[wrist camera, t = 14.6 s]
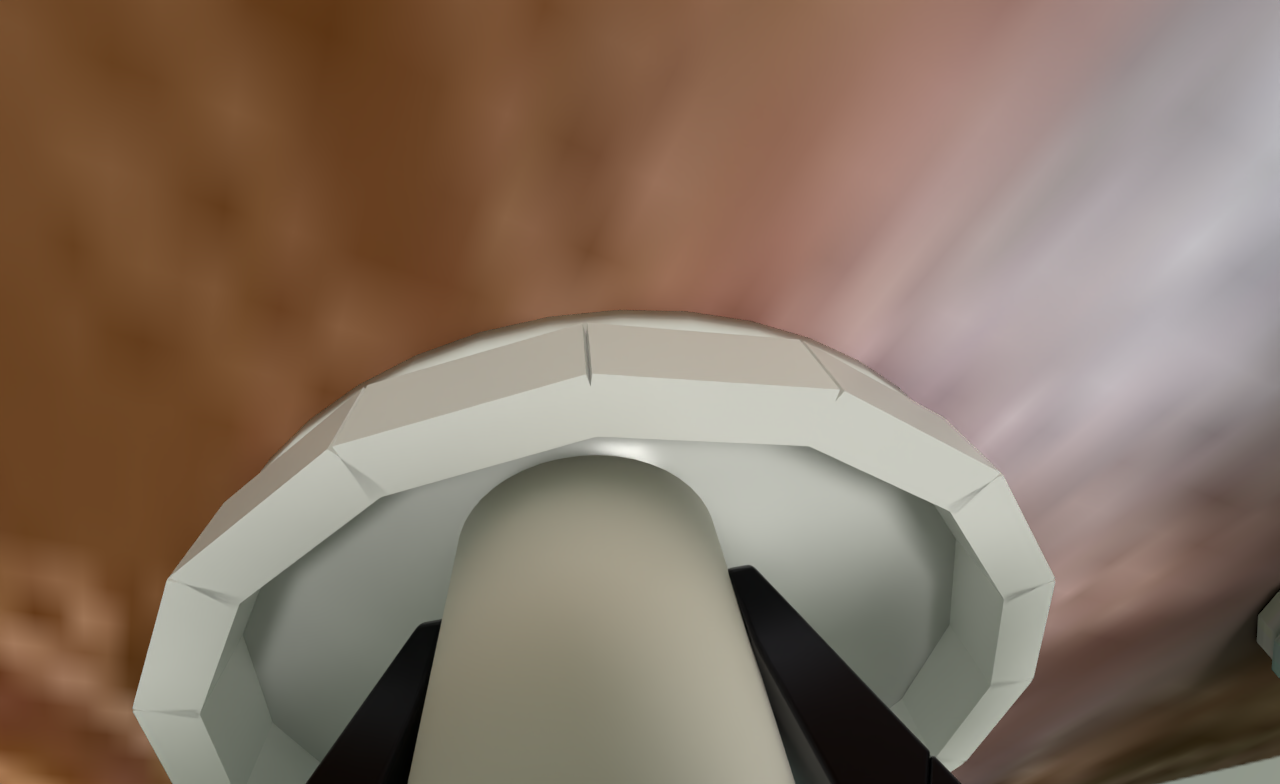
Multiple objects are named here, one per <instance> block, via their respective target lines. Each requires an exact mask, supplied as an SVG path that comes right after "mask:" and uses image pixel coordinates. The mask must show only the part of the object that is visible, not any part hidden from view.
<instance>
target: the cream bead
mask: <svg viewBox="0 0 1280 784" xmlns="http://www.w3.org/2000/svg"><path fill="white" fill-rule="evenodd" d="M408 784H795V781H794V777H793V774H792V771H791V768H790V765H789V762H788V758H787V755H786V752H785V749H784V746H783V743H782V739H781V736H780V733H779V730H778V727H777V724H776V720H775V717H774V714H773V711H772V708H771V705H770V701H769V698H768V695H767V692H766V689H765V686H764V682H763V679H762V676H761V673H760V670H759V667H758V664H757V661H756V659H755V656H754V653H753V650H752V647H751V644H750V641H749V637H748V634H747V631H746V628H745V625H744V622H743V618H742V615H741V612H740V609H739V606H738V602H737V599H736V596H735V593H734V590H733V586H732V583H731V580H730V577H729V573H728V568H727V565H726V562H725V559H724V556H723V552H722V549H721V546H720V543H719V540H718V536H717V533H716V530H715V527H714V524H713V521H712V518H711V516H710V513H709V511H708V509H707V507H706V506H705V504H704V502H703V501H702V499H701V498H700V497H699V496H698V495H697V493H696V492H695V491H694V490H693V489H692V488H691V487H690V486H688V485H687V484H686V483H685V482H683V481H682V480H681V479H680V478H678V477H676V476H675V475H673V474H671V473H669V472H668V471H666V470H664V469H661V468H659V467H657V466H654V465H652V464H649V463H645V462H642V461H638V460H635V459H630V458H624V457H618V456H604V455H589V456H575V457H568V458H562V459H557V460H553V461H549V462H545V463H541V464H539V465H536V466H533V467H531V468H528V469H525V470H523V471H521V472H519V473H517V474H515V475H513V476H511V477H510V478H508V479H506V480H505V481H503V482H502V483H500V484H499V485H497V486H496V487H494V488H493V489H492V490H491V491H490V492H489V493H488V494H486V495H485V496H484V497H483V498H482V499H481V500H480V501H479V503H478V504H477V505H476V506H475V507H474V508H473V510H472V511H471V513H470V514H469V516H468V518H467V519H466V521H465V523H464V525H463V528H462V531H461V533H460V536H459V541H458V546H457V551H456V555H455V560H454V565H453V570H452V574H451V579H450V584H449V589H448V593H447V598H446V603H445V608H444V612H443V617H442V622H441V627H440V631H439V636H438V641H437V646H436V650H435V655H434V660H433V665H432V669H431V674H430V679H429V684H428V689H427V693H426V698H425V703H424V708H423V712H422V717H421V722H420V727H419V731H418V736H417V741H416V746H415V750H414V755H413V760H412V765H411V769H410V774H409V779H408Z"/></svg>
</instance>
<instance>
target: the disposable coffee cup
mask: <svg viewBox="0 0 1280 784" xmlns="http://www.w3.org/2000/svg"><path fill="white" fill-rule="evenodd" d="M1257 643H1258V644H1259V645H1260V646H1261V647H1262V648H1263V650H1264V651H1265V652H1266V653H1267V654H1268V655H1269V656H1270V658H1271V659H1272V670H1273V671H1274V673H1275V674H1276V675H1277V676H1278V677H1279V678H1280V591H1279V592H1278V593H1277V594H1276V595H1275V596H1274V598H1273V599H1272V600H1271V601H1270V602H1269V603H1268V605H1267V606H1266V607H1265V608H1264V609H1263V610H1262V612H1261V613H1260V614H1259V615H1258V628H1257Z"/></svg>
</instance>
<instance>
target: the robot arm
mask: <svg viewBox="0 0 1280 784" xmlns="http://www.w3.org/2000/svg"><path fill="white" fill-rule="evenodd" d="M728 573H729V577H730V580H731V583H732V586H733V590H734V593H735V596H736V599H737V602H738V606H739V609H740V612H741V615H742V618H743V622H744V625H745V628H746V631H747V634H748V637H749V641H750V644H751V647H752V650H753V653H754V656H755V659H756V661H757V664H758V667H759V670H760V673H761V676H762V679H763V682H764V686H765V689H766V692H767V695H768V698H769V701H770V705H771V708H772V711H773V714H774V717H775V720H776V724H777V727H778V730H779V733H780V736H781V739H782V743H783V746H784V749H785V752H786V755H787V758H788V762H789V765H790V768H791V771H792V774H793V777H794V781H795V784H961V783H960V782H959V781H958V780H957V779H956V778H955V777H954V776H953V774H952V773H951V772H950V771H949V770H948V769H947V768H946V767H945V766H944V765H943V764H942V763H941V762H940V761H939V760H938V759H937V758H936V757H935V756H931V757H930V751H929V750H928V749H927V747H926V746H925V745H924V744H923V743H922V742H921V741H920V740H919V739H918V738H917V737H916V736H915V735H914V734H913V733H912V732H911V731H910V730H909V729H908V728H907V726H906V725H905V724H904V723H903V722H902V721H901V720H900V719H899V718H898V717H897V716H896V715H895V714H894V713H893V712H892V711H891V710H890V709H889V708H888V707H887V705H886V704H885V703H884V702H883V701H882V700H881V699H880V698H879V697H878V696H877V695H876V694H875V693H874V692H873V691H872V690H871V689H870V688H869V687H868V686H867V684H866V683H865V682H864V681H863V680H862V679H861V678H860V677H859V676H858V675H857V674H856V673H855V672H854V671H853V670H852V669H851V668H850V667H849V666H848V665H847V663H846V662H845V661H844V660H843V659H842V658H841V657H840V656H839V655H838V654H837V653H836V652H835V651H834V650H833V649H832V648H831V647H830V646H829V645H828V644H827V642H826V641H825V640H824V639H823V638H822V637H821V636H820V635H819V634H818V633H817V632H816V631H815V630H814V629H813V628H812V627H811V626H810V625H809V624H808V623H807V621H806V620H805V619H804V618H803V617H802V616H801V615H800V614H799V613H798V612H797V611H796V610H795V609H794V608H793V607H792V606H791V605H790V604H789V603H788V602H787V601H786V599H785V598H784V597H783V596H782V595H781V594H780V593H779V592H778V591H777V590H776V589H775V588H774V587H773V586H772V585H771V584H770V583H769V582H768V581H767V580H766V578H765V577H764V576H763V575H762V574H761V573H760V572H759V571H758V570H757V569H756V568H755V567H754V566H752V565H743V566H737V567H732V568H729V569H728ZM441 622H442V619H438V620H432V621H427V622H423V623H421V624H420V625H418V626H417V627H416V629H415V630H414V631H413V633H412V634H411V636H410V637H409V639H408V640H407V641H406V643H405V644H404V646H403V647H402V648H401V650H400V651H399V653H398V654H397V655H396V657H395V658H394V660H393V661H392V662H391V664H390V665H389V667H388V668H387V669H386V671H385V672H384V674H383V675H382V677H381V678H380V679H379V681H378V682H377V684H376V685H375V686H374V688H373V689H372V691H371V692H370V693H369V695H368V696H367V698H366V699H365V700H364V702H363V703H362V705H361V706H360V707H359V709H358V710H357V712H356V713H355V714H354V716H353V717H352V719H351V720H350V722H349V723H348V724H347V726H346V727H345V729H344V730H343V731H342V733H341V734H340V736H339V737H338V738H337V740H336V741H335V743H334V744H333V745H332V747H331V748H330V750H329V751H328V752H327V754H326V755H325V757H324V758H323V760H322V761H321V762H320V764H319V765H318V767H317V768H316V769H315V771H314V772H313V774H312V775H311V776H310V778H309V779H308V781H307V782H306V783H305V784H408V779H409V774H410V769H411V765H412V760H413V755H414V750H415V746H416V741H417V736H418V731H419V727H420V722H421V717H422V712H423V708H424V703H425V698H426V693H427V689H428V684H429V679H430V674H431V669H432V665H433V660H434V655H435V650H436V646H437V641H438V636H439V631H440V627H441Z"/></svg>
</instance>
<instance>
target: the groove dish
mask: <svg viewBox="0 0 1280 784" xmlns="http://www.w3.org/2000/svg"><path fill="white" fill-rule="evenodd" d="M589 455H604V456H618V457H624V458H630V459H635V460H638V461H642V462H645V463H649V464H652V465H654V466H657V467H659V468H661V469H664V470H666V471H668V472H669V473H671V474H673V475H675V476H676V477H678V478H680V479H681V480H682V481H683V482H685V483H686V484H687V485H688V486H690V487H691V488H692V489H693V490H694V491H695V492H696V493H697V495H698V496H699V497H700V498H701V499H702V501H703V502H704V504H705V506H706V507H707V509H708V511H709V513H710V516H711V518H712V521H713V524H714V527H715V530H716V533H717V536H718V540H719V543H720V546H721V549H722V552H723V556H724V559H725V562H726V565H727V568H728V569H729V568H732V567H737V566H743V565H752V566H754V567H755V568H756V569H757V570H758V571H759V572H760V573H761V574H762V575H763V576H764V577H765V578H766V580H767V581H768V582H769V583H770V584H771V585H772V586H773V587H774V588H775V589H776V590H777V591H778V592H779V593H780V594H781V595H782V596H783V597H784V598H785V599H786V601H787V602H788V603H789V604H790V605H791V606H792V607H793V608H794V609H795V610H796V611H797V612H798V613H799V614H800V615H801V616H802V617H803V618H804V619H805V620H806V621H807V623H808V624H809V625H810V626H811V627H812V628H813V629H814V630H815V631H816V632H817V633H818V634H819V635H820V636H821V637H822V638H823V639H824V640H825V641H826V642H827V644H828V645H829V646H830V647H831V648H832V649H833V650H834V651H835V652H836V653H837V654H838V655H839V656H840V657H841V658H842V659H843V660H844V661H845V662H846V663H847V665H848V666H849V667H850V668H851V669H852V670H853V671H854V672H855V673H856V674H857V675H858V676H859V677H860V678H861V679H862V680H863V681H864V682H865V683H866V684H867V686H868V687H869V688H870V689H871V690H872V691H873V692H874V693H875V694H876V695H877V696H878V697H879V698H880V699H881V700H882V701H883V702H884V703H885V704H886V705H887V707H888V708H889V709H890V710H891V711H892V712H893V713H894V714H895V715H896V716H897V717H898V718H899V719H900V720H901V721H902V722H903V723H904V724H905V725H906V726H907V728H908V729H909V730H910V731H911V732H912V733H913V734H914V735H915V736H916V737H917V738H918V739H919V740H920V741H921V742H922V743H923V744H924V745H925V746H926V747H927V749H928V750H929V751H930V757H931V756H935V757H936V758H937V759H938V760H939V761H940V762H941V763H942V764H943V765H944V766H945V767H946V768H947V769H948V770H949V771H950V772H951V771H953V770H954V769H956V768H957V767H959V766H960V765H962V764H963V763H964V761H967V759H968V758H969V757H970V756H971V755H972V753H973V752H974V751H975V750H976V748H977V747H978V746H979V745H980V744H981V742H982V741H983V740H984V739H985V738H986V736H987V735H988V734H989V733H990V731H991V730H992V729H993V728H994V727H995V725H996V724H997V723H998V722H999V721H1000V719H1001V718H1002V717H1003V716H1004V714H1005V713H1006V712H1007V711H1008V710H1009V708H1010V707H1011V706H1012V705H1013V703H1014V702H1015V701H1016V700H1017V699H1018V697H1019V696H1020V695H1021V694H1022V693H1023V691H1024V690H1025V689H1026V688H1027V686H1028V685H1029V684H1030V683H1031V682H1032V680H1031V679H1033V678H1034V674H1035V669H1036V665H1037V660H1038V656H1039V652H1040V647H1041V643H1042V638H1043V634H1044V630H1045V625H1046V621H1047V616H1048V612H1049V607H1050V603H1051V599H1052V594H1053V590H1054V585H1055V580H1054V579H1055V577H1054V575H1053V573H1052V571H1051V569H1050V567H1049V565H1048V563H1047V562H1046V560H1045V558H1044V556H1043V554H1042V552H1041V550H1040V548H1039V546H1038V544H1037V542H1036V540H1035V538H1034V536H1033V534H1032V532H1031V530H1030V528H1029V526H1028V524H1027V522H1026V520H1025V518H1024V516H1023V514H1022V512H1021V510H1020V508H1019V506H1018V504H1017V502H1016V500H1015V498H1014V496H1013V494H1012V492H1011V490H1010V488H1009V486H1008V484H1007V482H1006V480H1005V478H1004V476H1003V475H1002V474H1001V472H999V471H998V470H997V469H996V468H995V467H994V466H993V465H992V464H991V463H990V462H989V461H988V460H987V459H986V458H985V457H984V456H983V455H982V454H981V453H980V452H979V451H978V450H977V449H976V448H975V447H974V446H973V445H972V444H971V443H970V442H969V441H968V440H967V439H965V438H964V437H963V436H962V435H961V434H960V433H959V432H958V431H957V430H956V429H955V428H954V427H953V426H952V425H951V424H950V423H949V422H948V421H947V420H946V419H945V418H944V417H942V416H940V415H938V414H936V413H934V412H933V411H931V410H929V409H927V408H925V407H923V406H922V405H920V404H918V403H916V402H914V401H912V400H911V399H910V398H909V397H908V396H907V395H906V394H905V393H904V392H903V391H902V390H901V389H900V388H899V387H897V386H896V385H894V384H893V383H891V382H890V381H888V380H887V379H885V378H884V377H882V376H881V375H879V374H878V373H876V372H875V371H873V370H872V369H870V368H869V367H867V366H866V365H864V364H863V363H861V362H860V361H858V360H856V359H854V358H852V357H850V356H847V355H845V354H843V353H841V352H839V351H837V350H834V349H832V348H830V347H828V346H826V345H823V344H821V343H819V342H817V341H815V340H813V339H810V338H808V337H804V336H801V335H797V334H794V333H791V332H787V331H784V330H780V329H777V328H773V327H770V326H767V325H763V324H760V323H756V322H753V321H748V320H741V319H734V318H728V317H721V316H714V315H708V314H701V313H695V312H688V311H647V310H613V311H602V312H592V313H582V314H572V315H562V316H552V317H546V318H541V319H537V320H533V321H528V322H524V323H519V324H515V325H510V326H506V327H501V328H497V329H492V330H488V331H483V332H479V333H477V334H474V335H471V336H468V337H466V338H463V339H460V340H457V341H454V342H452V343H449V344H446V345H443V346H440V347H438V348H435V349H432V350H429V351H426V352H424V353H421V354H418V355H416V356H414V357H412V358H410V359H408V360H406V361H404V362H402V363H400V364H398V365H396V366H394V367H392V368H390V369H388V370H386V371H384V372H383V373H381V374H379V375H377V376H375V377H373V378H371V379H369V380H367V381H365V382H363V383H361V384H359V385H358V386H356V387H355V388H353V389H352V390H351V391H349V392H348V393H346V394H345V395H344V396H342V397H341V398H339V399H338V400H337V401H335V402H334V403H332V404H331V405H330V406H328V407H327V408H325V409H324V410H323V411H321V412H320V413H318V414H317V415H316V416H314V417H313V418H311V419H310V420H309V421H308V422H307V423H306V424H305V425H304V426H303V427H302V428H301V429H300V430H299V431H298V432H297V433H296V434H294V435H293V436H292V437H291V438H290V439H289V440H288V441H287V442H286V443H285V444H284V445H283V446H282V447H281V448H280V449H279V450H278V451H277V452H276V453H275V454H274V455H273V456H272V457H271V458H270V460H269V461H268V462H267V464H266V465H265V467H264V468H263V469H262V471H261V472H260V473H259V474H258V475H257V476H256V477H254V478H253V479H252V480H251V481H250V482H248V483H247V484H246V485H245V486H244V487H242V488H241V489H240V490H239V491H238V492H236V493H235V494H234V495H233V496H232V497H230V498H229V499H228V500H227V501H226V502H224V504H223V505H222V506H221V508H220V509H219V510H218V512H217V513H216V514H215V516H214V517H213V518H212V520H211V521H210V523H209V524H208V525H207V527H206V528H205V529H204V531H203V532H202V533H201V535H200V536H199V537H198V539H197V540H196V541H195V543H194V544H193V546H192V547H191V548H190V550H189V551H188V552H187V554H186V555H185V556H184V558H183V559H182V560H181V562H180V563H179V564H178V566H177V567H176V569H175V570H174V571H173V573H172V574H171V575H170V577H169V578H168V579H167V582H166V586H165V589H164V593H163V597H162V600H161V604H160V608H159V612H158V615H157V619H156V623H155V626H154V630H153V634H152V638H151V641H150V645H149V649H148V652H147V656H146V660H145V664H144V667H143V671H142V675H141V678H140V682H139V686H138V689H137V693H136V697H135V701H134V704H133V708H132V709H134V710H133V713H134V715H135V716H136V718H137V720H138V722H139V724H140V726H141V727H142V729H143V731H144V733H145V735H146V736H147V738H148V740H149V742H150V744H151V745H152V747H153V749H154V751H155V753H156V755H157V756H158V758H159V760H160V762H161V764H162V765H163V767H164V769H165V771H166V773H167V775H168V776H169V778H170V780H171V782H172V784H305V783H306V782H307V781H308V779H309V778H310V776H311V775H312V774H313V772H314V771H315V769H316V768H317V767H318V765H319V764H320V762H321V761H322V760H323V758H324V757H325V755H326V754H327V752H328V751H329V750H330V748H331V747H332V745H333V744H334V743H335V741H336V740H337V738H338V737H339V736H340V734H341V733H342V731H343V730H344V729H345V727H346V726H347V724H348V723H349V722H350V720H351V719H352V717H353V716H354V714H355V713H356V712H357V710H358V709H359V707H360V706H361V705H362V703H363V702H364V700H365V699H366V698H367V696H368V695H369V693H370V692H371V691H372V689H373V688H374V686H375V685H376V684H377V682H378V681H379V679H380V678H381V677H382V675H383V674H384V672H385V671H386V669H387V668H388V667H389V665H390V664H391V662H392V661H393V660H394V658H395V657H396V655H397V654H398V653H399V651H400V650H401V648H402V647H403V646H404V644H405V643H406V641H407V640H408V639H409V637H410V636H411V634H412V633H413V631H414V630H415V629H416V627H417V626H418V625H420V624H421V623H423V622H427V621H432V620H438V619H442V617H443V612H444V608H445V603H446V598H447V593H448V589H449V584H450V579H451V574H452V570H453V565H454V560H455V555H456V551H457V546H458V541H459V536H460V533H461V531H462V528H463V525H464V523H465V521H466V519H467V518H468V516H469V514H470V513H471V511H472V510H473V508H474V507H475V506H476V505H477V504H478V503H479V501H480V500H481V499H482V498H483V497H484V496H485V495H486V494H488V493H489V492H490V491H491V490H492V489H493V488H494V487H496V486H497V485H499V484H500V483H502V482H503V481H505V480H506V479H508V478H510V477H511V476H513V475H515V474H517V473H519V472H521V471H523V470H525V469H528V468H531V467H533V466H536V465H539V464H541V463H545V462H549V461H553V460H557V459H562V458H568V457H575V456H589Z"/></svg>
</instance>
